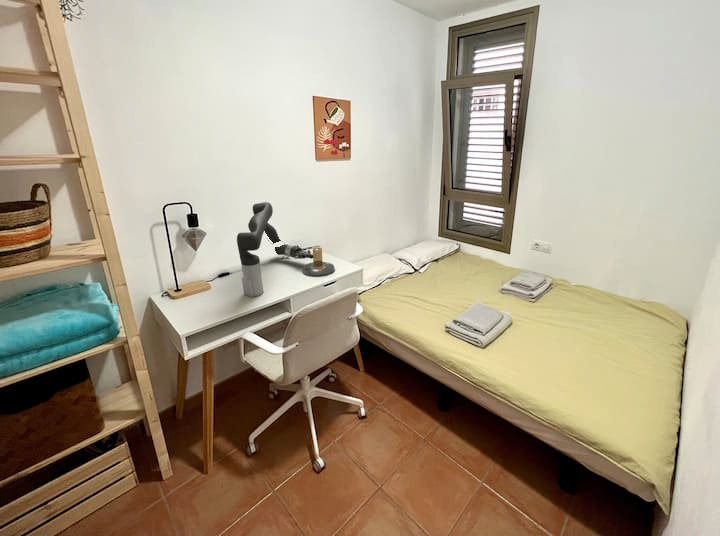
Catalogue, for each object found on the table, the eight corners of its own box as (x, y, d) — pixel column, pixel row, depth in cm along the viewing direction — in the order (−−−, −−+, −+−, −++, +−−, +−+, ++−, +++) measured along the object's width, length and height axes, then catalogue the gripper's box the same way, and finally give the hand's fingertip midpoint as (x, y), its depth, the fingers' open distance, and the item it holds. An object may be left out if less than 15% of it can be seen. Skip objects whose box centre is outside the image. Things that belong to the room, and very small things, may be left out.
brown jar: (318, 270, 203) (317, 251, 198) (310, 267, 207) (309, 249, 202) (326, 266, 208) (325, 248, 204) (318, 264, 212) (316, 246, 207)
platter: (318, 278, 195) (318, 275, 194) (295, 271, 206) (295, 268, 205) (340, 268, 210) (340, 265, 209) (317, 262, 221) (317, 259, 220)
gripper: (285, 248, 211) (304, 253, 201) (300, 243, 221) (319, 248, 211) (286, 259, 214) (305, 265, 204) (301, 254, 223) (320, 259, 214)
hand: (312, 256), depth 207 cm, fingers closed
